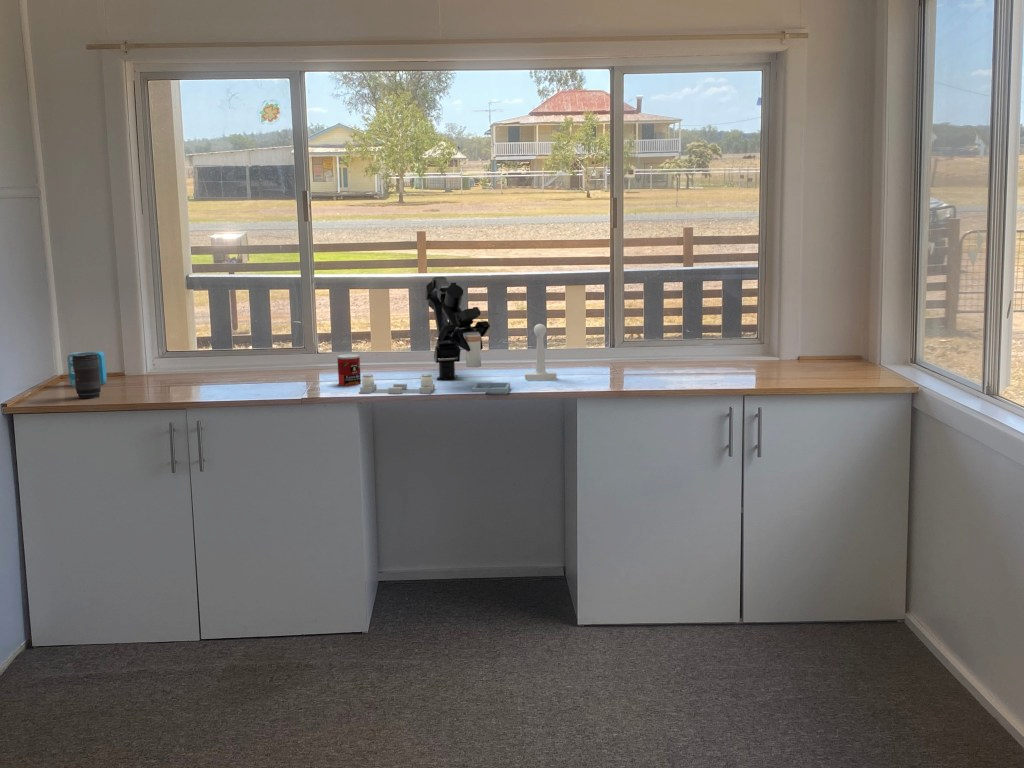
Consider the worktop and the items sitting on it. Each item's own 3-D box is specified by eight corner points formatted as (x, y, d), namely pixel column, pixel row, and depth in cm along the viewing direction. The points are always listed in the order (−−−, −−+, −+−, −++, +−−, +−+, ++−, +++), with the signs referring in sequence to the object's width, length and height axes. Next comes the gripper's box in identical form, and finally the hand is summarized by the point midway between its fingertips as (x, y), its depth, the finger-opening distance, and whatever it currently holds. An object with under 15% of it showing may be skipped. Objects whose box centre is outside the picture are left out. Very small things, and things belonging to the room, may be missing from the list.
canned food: (345, 389, 350) (343, 358, 348) (334, 386, 356) (333, 355, 355) (365, 386, 354) (363, 355, 353) (354, 384, 361) (353, 353, 359)
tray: (476, 388, 346) (476, 382, 346) (510, 388, 345) (510, 382, 345) (472, 394, 335) (472, 388, 335) (507, 394, 334) (507, 388, 334)
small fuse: (422, 390, 340) (421, 373, 339) (434, 390, 339) (433, 373, 338) (420, 392, 336) (419, 375, 335) (432, 392, 335) (431, 375, 334)
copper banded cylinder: (462, 366, 346) (462, 332, 344) (474, 364, 350) (473, 331, 348) (472, 367, 342) (471, 333, 340) (484, 366, 346) (483, 332, 344)
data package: (69, 386, 368) (66, 354, 366) (73, 384, 372) (70, 352, 370) (104, 385, 369) (101, 352, 367) (107, 383, 374) (104, 351, 372)
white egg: (364, 390, 342) (363, 374, 341) (375, 390, 342) (375, 373, 341) (361, 392, 338) (360, 375, 337) (373, 392, 338) (372, 375, 337)
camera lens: (71, 398, 344) (66, 354, 342) (92, 394, 351) (88, 351, 348) (85, 400, 340) (81, 356, 337) (106, 396, 346) (102, 352, 344)
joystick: (525, 381, 359) (524, 325, 356) (524, 377, 367) (523, 322, 363) (556, 380, 360) (556, 324, 357) (554, 376, 367) (553, 321, 364)
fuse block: (364, 391, 345) (364, 383, 344) (437, 391, 342) (437, 383, 341) (357, 396, 336) (357, 388, 336) (432, 396, 333) (431, 388, 333)
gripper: (442, 301, 339) (463, 337, 333) (486, 297, 351) (507, 331, 345) (429, 323, 346) (449, 358, 340) (472, 318, 358) (493, 352, 352)
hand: (475, 349), depth 344 cm, fingers closed on copper banded cylinder, 5 cm apart
